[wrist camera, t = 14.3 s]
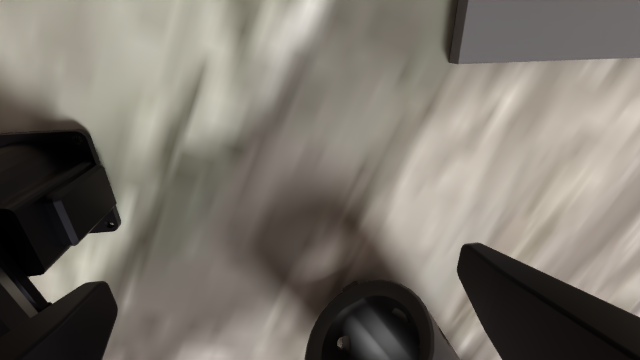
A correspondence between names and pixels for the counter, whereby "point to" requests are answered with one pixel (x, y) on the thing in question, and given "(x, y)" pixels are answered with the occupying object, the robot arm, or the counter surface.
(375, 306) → the muzzle brake
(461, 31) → the charcoal mat
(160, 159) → the counter surface
